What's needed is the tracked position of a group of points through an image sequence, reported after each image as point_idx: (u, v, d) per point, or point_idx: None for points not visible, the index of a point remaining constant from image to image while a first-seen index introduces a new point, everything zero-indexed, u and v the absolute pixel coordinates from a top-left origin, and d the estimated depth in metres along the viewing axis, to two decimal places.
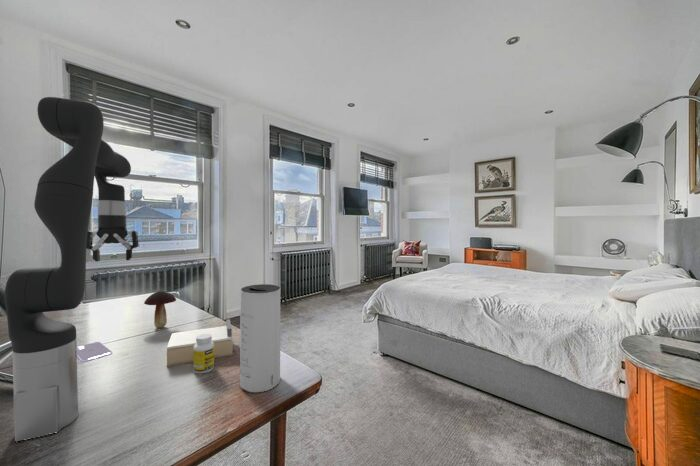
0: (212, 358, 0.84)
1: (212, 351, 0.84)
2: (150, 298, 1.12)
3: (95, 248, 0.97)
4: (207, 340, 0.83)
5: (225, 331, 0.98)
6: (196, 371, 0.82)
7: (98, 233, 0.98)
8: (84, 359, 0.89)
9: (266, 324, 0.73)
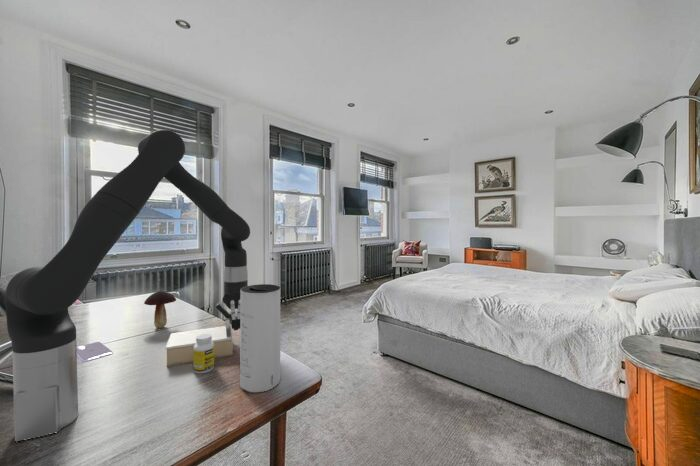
0: (212, 358, 0.84)
1: (212, 351, 0.84)
2: (150, 298, 1.12)
3: (234, 317, 0.97)
4: (207, 340, 0.83)
5: (224, 331, 0.98)
6: (196, 371, 0.82)
7: (225, 301, 0.96)
8: (85, 359, 0.89)
9: (266, 324, 0.73)
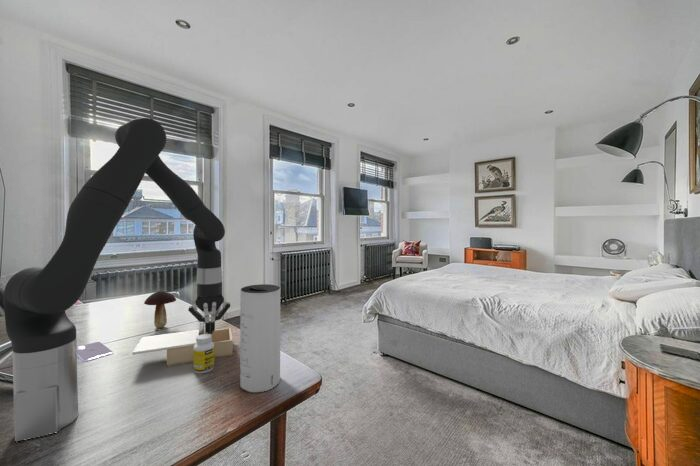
0: (212, 358, 0.84)
1: (212, 351, 0.84)
2: (150, 298, 1.12)
3: (207, 320, 0.94)
4: (207, 340, 0.83)
5: (198, 335, 0.94)
6: (196, 371, 0.82)
7: (198, 303, 0.92)
8: (85, 359, 0.89)
9: (266, 324, 0.73)
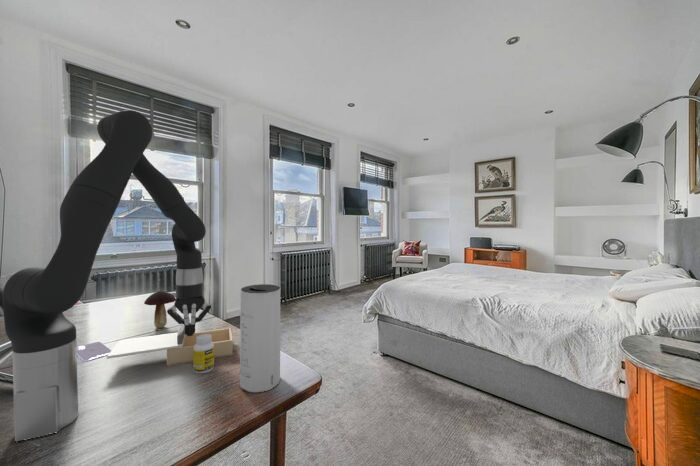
0: (212, 358, 0.84)
1: (212, 351, 0.84)
2: (150, 298, 1.12)
3: (187, 322, 0.91)
4: (207, 340, 0.83)
5: None
6: (196, 371, 0.82)
7: (177, 305, 0.90)
8: (85, 359, 0.89)
9: (266, 324, 0.73)
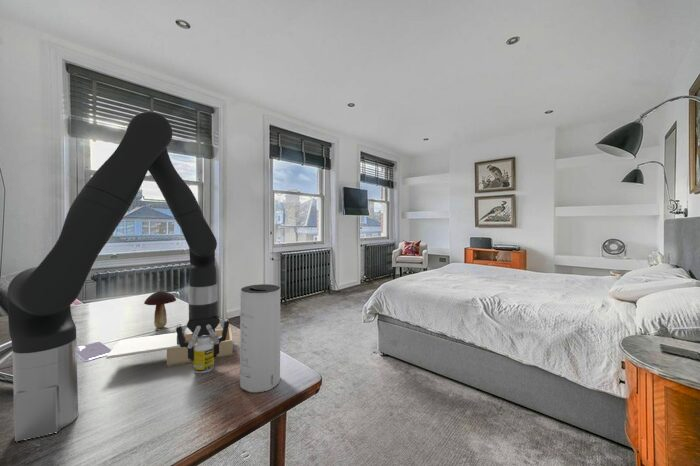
0: (212, 358, 0.84)
1: (212, 351, 0.84)
2: (150, 298, 1.12)
3: (191, 345, 0.81)
4: (207, 340, 0.82)
5: (177, 338, 0.92)
6: (196, 371, 0.82)
7: (189, 326, 0.81)
8: (86, 359, 0.89)
9: (266, 324, 0.73)
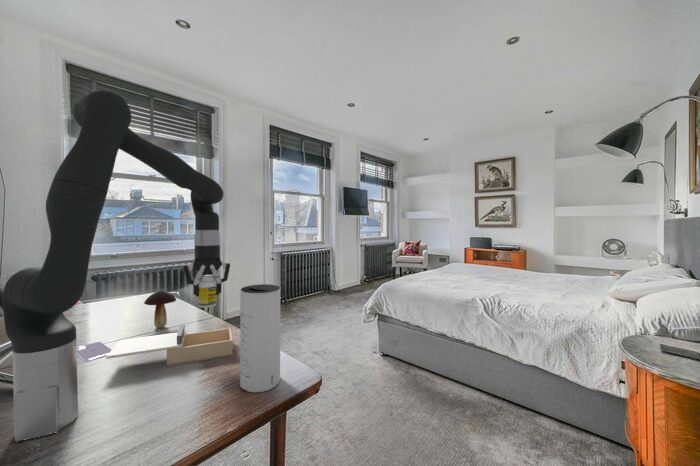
0: (215, 295, 0.94)
1: (215, 289, 0.94)
2: (150, 298, 1.12)
3: (196, 282, 0.92)
4: (210, 278, 0.93)
5: (177, 338, 0.92)
6: (201, 305, 0.92)
7: (195, 265, 0.92)
8: (87, 359, 0.89)
9: (266, 324, 0.73)
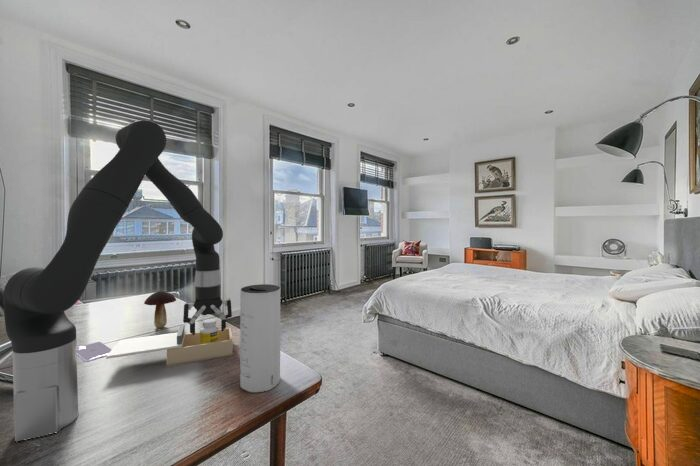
0: (217, 340, 0.95)
1: (217, 334, 0.95)
2: (150, 298, 1.12)
3: (193, 321, 0.92)
4: (212, 324, 0.94)
5: (177, 338, 0.92)
6: None
7: (195, 305, 0.92)
8: (87, 359, 0.89)
9: (266, 324, 0.73)
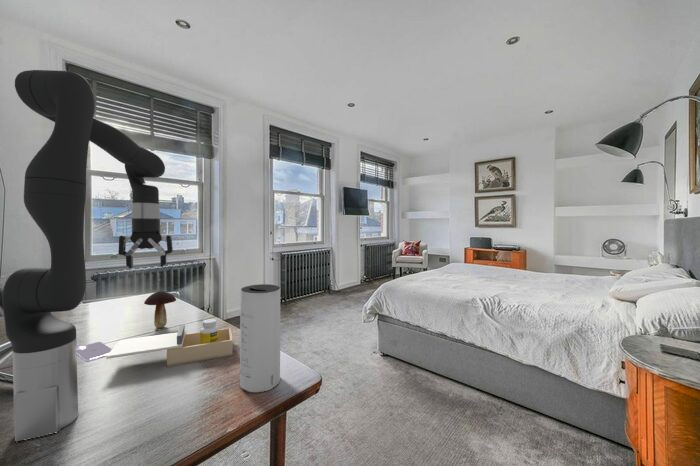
0: (216, 340, 0.95)
1: (217, 334, 0.95)
2: (150, 298, 1.12)
3: (129, 254, 0.91)
4: (212, 324, 0.94)
5: (177, 338, 0.92)
6: None
7: (132, 238, 0.91)
8: (88, 359, 0.89)
9: (266, 324, 0.73)
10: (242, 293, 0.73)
